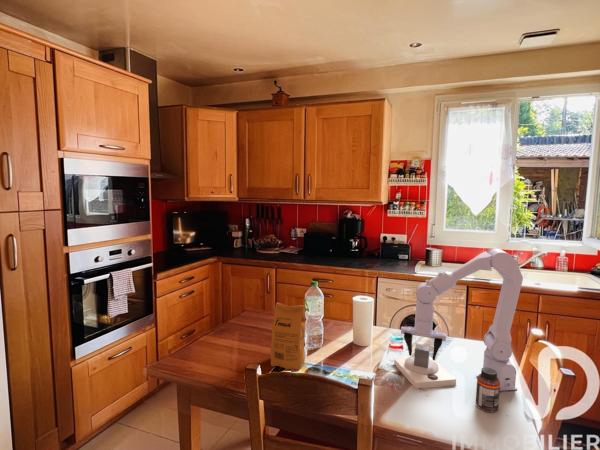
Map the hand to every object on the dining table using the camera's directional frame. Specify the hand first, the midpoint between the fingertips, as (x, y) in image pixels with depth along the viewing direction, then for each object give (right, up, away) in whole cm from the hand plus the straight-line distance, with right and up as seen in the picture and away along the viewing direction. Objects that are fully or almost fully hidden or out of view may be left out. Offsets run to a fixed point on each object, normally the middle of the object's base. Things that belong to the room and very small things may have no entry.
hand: (421, 356), depth 123 cm
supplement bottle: (+12, -8, -19) cm, 24 cm away
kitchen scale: (0, -6, -1) cm, 6 cm away
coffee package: (-47, -4, +5) cm, 47 cm away
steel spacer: (0, -3, 0) cm, 3 cm away
